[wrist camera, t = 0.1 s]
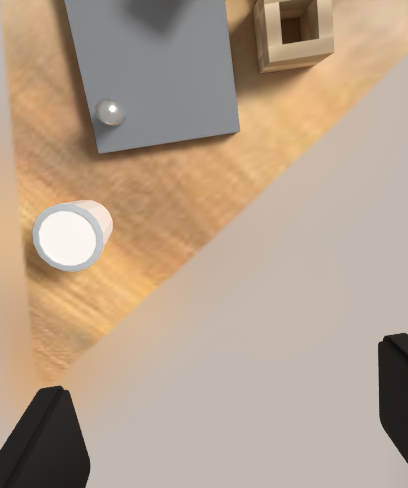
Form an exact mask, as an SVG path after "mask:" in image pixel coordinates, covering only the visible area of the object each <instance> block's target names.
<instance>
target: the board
mask: <svg viewBox="0 0 408 488" xmlns="http://www.w3.org/2000/svg"><path fill="white" fill-rule="evenodd" d="M64 1H65V6H66V10H67V15H68V19H69V23H70V28H71V32H72V37H73V41H74V46H75V50H76V54H77V59H78V63H79V68H80V72H81V77H82V81H83V86H84V90H85V94H86V99H87V103H88V108H89V112H90V117H91V121H92V125H93V130H94V134H95V139H96V143H97V148H98V152H99V154H103V153H110V152H116V151H122V150H129V149H135V148H141V147H148V146H154V145H160V144H167V143H173V142H180V141H186V140H192V139H199V138H205V137H211V136H218V135H224V134H230V133H237V132H240V125H239V117H238V108H237V100H236V91H235V83H234V74H233V66H232V57H231V49H230V40H229V32H228V23H227V15H226V6H225V0H197V1H194V0H64ZM104 98H109V99H111V100H113V101H115V102H116V103H118V104H119V105H121V106H122V107H123V108H124V110H125V112H126V119H125V121H124V123H123V124H121V125H119V126H112V125H109V124H106V123H103V122H101V121H100V120H99V119H98V118H97V116H96V114H95V106H96V104H97V102H98V101H99V100H101V99H104Z"/></svg>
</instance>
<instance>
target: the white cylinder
mask: <svg viewBox="0 0 408 488" xmlns="http://www.w3.org/2000/svg"><path fill="white" fill-rule="evenodd" d="M112 230H113V223H112V218H111V216H110V214H109V211H108V210H107V209H106V208H105V207H104V206H102V205H101V204H99V203H97V202H95V201H91V200H80V201H74V202H68V203H61V204H57V205H55V206H52V207H49V208H47V209H45V210H44V211H43V212H42V213H41V214H40V215H39V216H38V217H37V219H36V222H35V224H34V227H33V230H32V233H33V244H34V246H35V248H36V250H37V252H38V254H39V256H40V257H41V258H42V259H43V260H44V261H46V262H47V263H48V264H49V265H50V266H52V267H55V268H57V269H59V270H62V271H80V270H83V269H85V268H88V267H90V266H91V265H92V264H93V263H94V262H95V261H96V260H97V259H98V258H99V257H100V255H101V253H102V251H103V249H104V247H105V245H106V243H107V241H108V239H109V237H110V235H111V232H112Z"/></svg>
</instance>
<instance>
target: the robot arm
mask: <svg viewBox="0 0 408 488" xmlns="http://www.w3.org/2000/svg"><path fill="white" fill-rule="evenodd" d="M378 361H379V362H378V365H379V412H380V413H379V415H380V421H381V424H382V426H383V428H384V430H385V431H386V433H387V434H388V436H389V437H390V439H391V440H392V441H393V443H394V444H395V446H396V447H397V449H398V450H399V452H400V453H401V455H402V456H403V457H404V459H405V460H406V462H407V463H408V334H406V333H400V334H394V335H388V336H385V337H384V338H383V341H382V342H379V344H378ZM89 473H90V459H89V456H88V452H87V449H86V446H85V442H84V439H83V436H82V432H81V429H80V426H79V422H78V419H77V415H76V412H75V409H74V405H73V402H72V399H71V395H70V393H69V391H68V390H64V389H63V388H62V386H54V387H47V388H42V389H40V390H39V391H38V392H37V394H36V395H35V397H34V398H33V400H32V402H31V403H30V405H29V406H28V408H27V409H26V411H25V412H24V414H23V416H22V417H21V419H20V420H19V422H18V423H17V425H16V426H15V428H14V430H13V431H12V433H11V434H10V436H9V437H8V439H7V441H6V442H5V444H4V445H3V447H2V449H1V450H0V488H85V487H86V483H87V480H88V477H89Z"/></svg>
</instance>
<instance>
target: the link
mask: <svg viewBox="0 0 408 488" xmlns="http://www.w3.org/2000/svg"><path fill="white" fill-rule="evenodd" d="M253 16H254V26H255V36H256V46H257V56H258V66H259V74H263V73H269V72H275V71H282V70H288V69H294V68H301V67H307V66H313V65H316V64H318V63H319V62H321V61H322V60H324V59H325V58H326V57H328V56H329V55H331V54H332V53H334V38H333V16H332V0H257V2H256V4H255V6H254V9H253ZM297 17H300V28H301V42H295V43H289V44H283V45H282V34H281V22H280V20H285V19H291V18H297Z"/></svg>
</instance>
